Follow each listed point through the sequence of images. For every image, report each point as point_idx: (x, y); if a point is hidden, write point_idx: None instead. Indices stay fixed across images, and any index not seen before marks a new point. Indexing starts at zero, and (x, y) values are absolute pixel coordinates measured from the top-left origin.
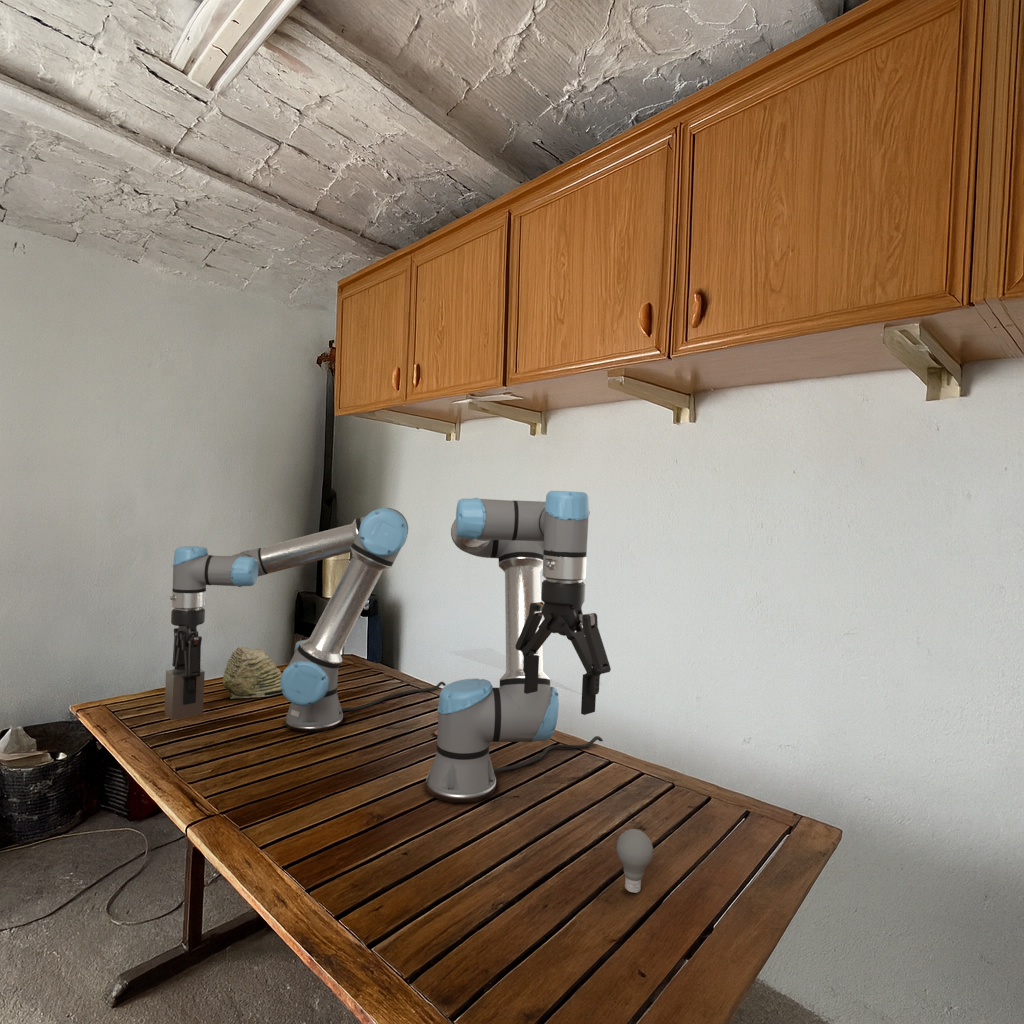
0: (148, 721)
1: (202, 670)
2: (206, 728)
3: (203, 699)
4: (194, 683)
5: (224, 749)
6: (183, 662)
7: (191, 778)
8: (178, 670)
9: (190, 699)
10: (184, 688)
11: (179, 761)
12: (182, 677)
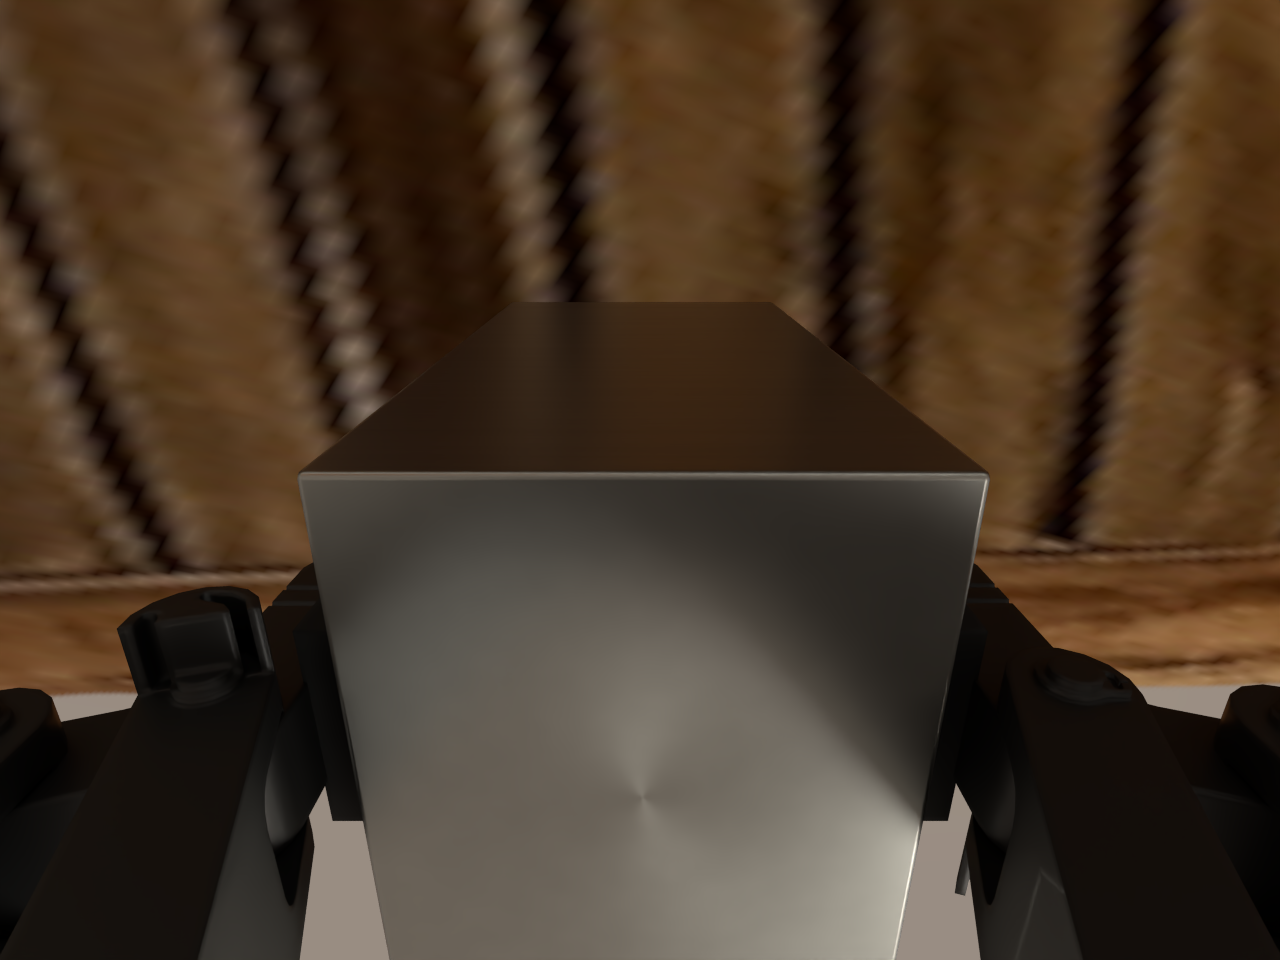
0: (61, 448)
1: (846, 487)
2: (433, 128)
3: (809, 332)
4: (1018, 626)
5: (985, 177)
6: (261, 887)
7: (1251, 510)
8: (515, 879)
9: None
10: None
11: None
12: (966, 885)
